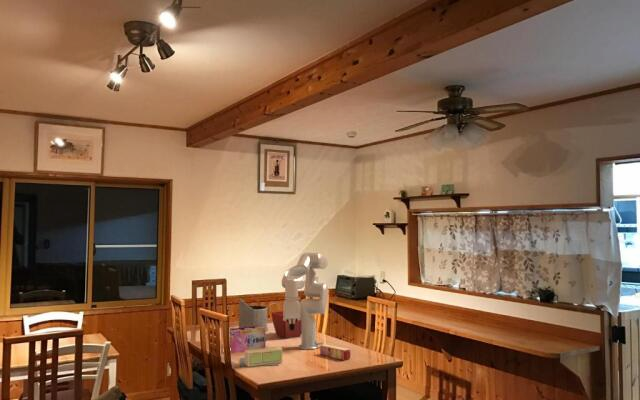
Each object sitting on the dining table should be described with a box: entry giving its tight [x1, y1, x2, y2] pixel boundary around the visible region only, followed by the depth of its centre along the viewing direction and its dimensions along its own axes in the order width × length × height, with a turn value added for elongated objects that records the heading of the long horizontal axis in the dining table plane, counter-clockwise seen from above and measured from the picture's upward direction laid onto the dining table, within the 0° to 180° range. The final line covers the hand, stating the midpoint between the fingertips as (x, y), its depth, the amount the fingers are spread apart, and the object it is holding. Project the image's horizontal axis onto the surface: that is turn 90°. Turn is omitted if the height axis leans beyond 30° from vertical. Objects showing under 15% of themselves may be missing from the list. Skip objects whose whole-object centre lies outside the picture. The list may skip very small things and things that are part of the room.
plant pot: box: [270, 310, 301, 340], centre depth 372 cm, size 19×19×17 cm
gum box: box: [228, 326, 267, 354], centre depth 333 cm, size 24×8×14 cm, turn 125°
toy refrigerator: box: [244, 346, 283, 368], centre depth 297 cm, size 8×7×21 cm
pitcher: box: [238, 297, 280, 333], centre depth 394 cm, size 23×32×25 cm
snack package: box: [319, 343, 351, 362], centre depth 313 cm, size 21×7×7 cm, turn 44°
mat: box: [239, 357, 279, 368], centre depth 301 cm, size 22×18×1 cm
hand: (291, 330), depth 306 cm, fingers closed
